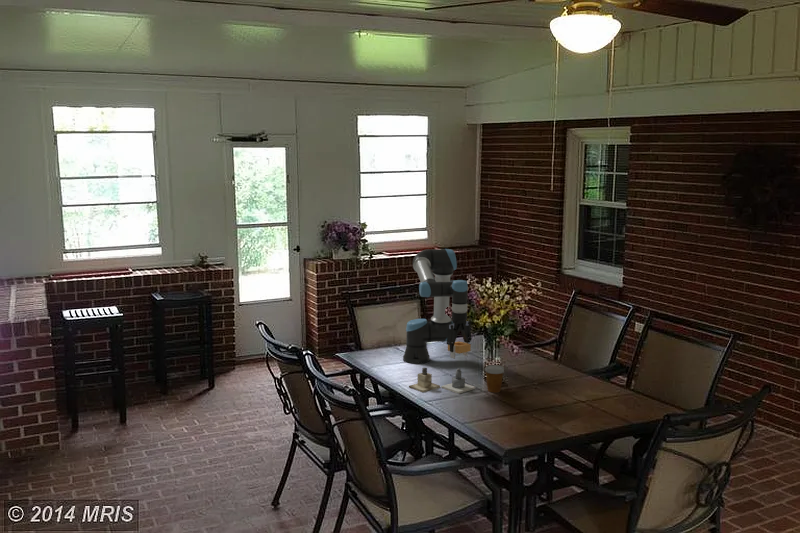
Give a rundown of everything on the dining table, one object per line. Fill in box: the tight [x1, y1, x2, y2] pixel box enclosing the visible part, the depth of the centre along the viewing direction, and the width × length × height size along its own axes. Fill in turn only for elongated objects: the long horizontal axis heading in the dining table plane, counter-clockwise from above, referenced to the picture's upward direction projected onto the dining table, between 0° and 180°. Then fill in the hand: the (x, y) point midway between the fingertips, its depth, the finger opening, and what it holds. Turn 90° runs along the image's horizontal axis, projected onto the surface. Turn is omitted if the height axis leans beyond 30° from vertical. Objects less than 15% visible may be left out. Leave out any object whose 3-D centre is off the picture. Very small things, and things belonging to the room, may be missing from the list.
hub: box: [440, 368, 476, 395], centre depth 367 cm, size 12×12×10 cm
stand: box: [408, 367, 441, 393], centre depth 368 cm, size 12×10×10 cm
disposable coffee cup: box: [484, 364, 505, 394], centre depth 364 cm, size 10×10×12 cm
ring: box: [447, 341, 472, 355], centre depth 365 cm, size 8×8×4 cm
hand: (458, 356), depth 365 cm, fingers closed on ring, 8 cm apart
